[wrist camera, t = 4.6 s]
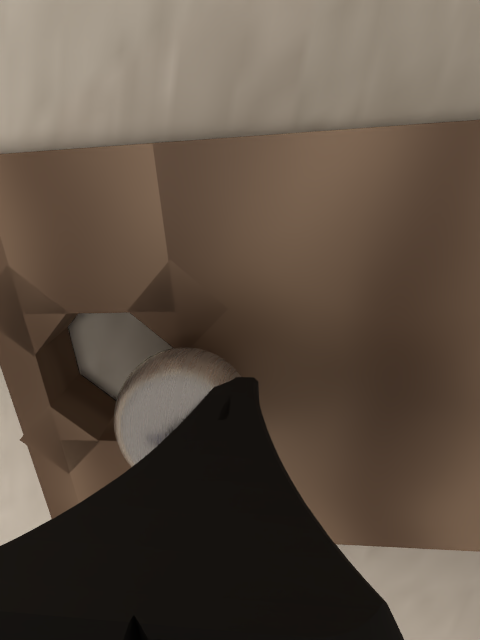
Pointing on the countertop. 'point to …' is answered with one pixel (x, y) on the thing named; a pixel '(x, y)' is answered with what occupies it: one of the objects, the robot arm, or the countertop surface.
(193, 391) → the steel ball
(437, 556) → the countertop surface
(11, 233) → the walnut board
